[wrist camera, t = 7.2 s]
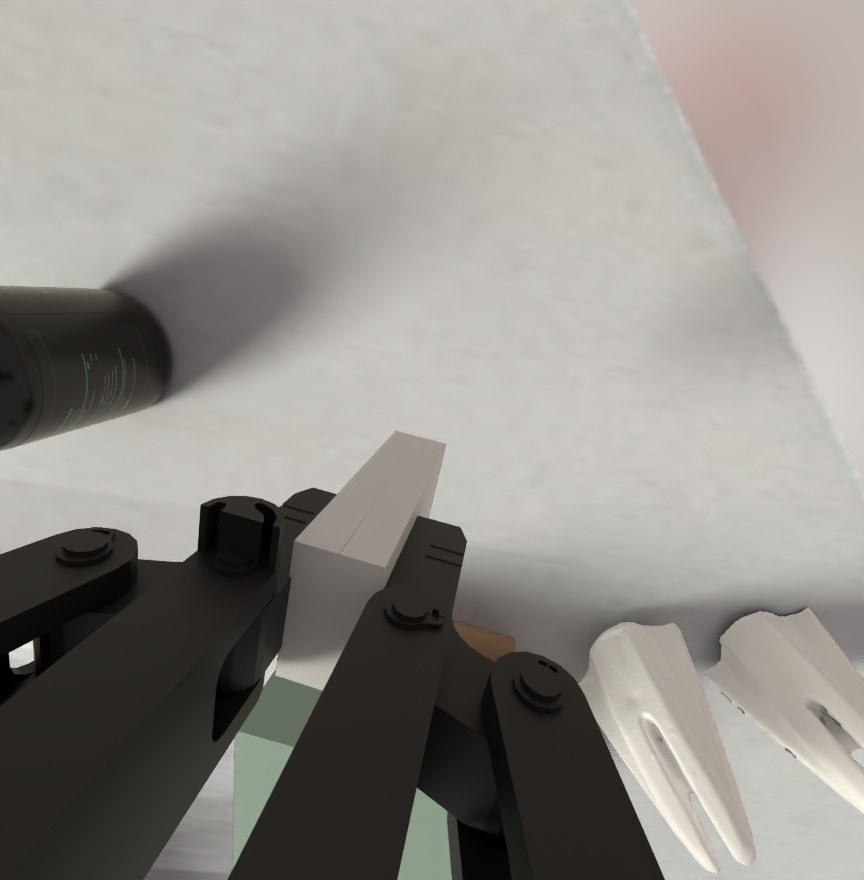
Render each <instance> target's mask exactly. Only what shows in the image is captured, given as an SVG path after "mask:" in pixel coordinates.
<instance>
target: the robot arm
mask: <svg viewBox="0 0 864 880" xmlns="http://www.w3.org/2000/svg"><path fill="white" fill-rule="evenodd" d="M445 448H446V444H444V443H440V442H436V441H433V440H429V439H425V438H421V437H417V436H414V435H410V434H406V433H402V432H398V431H395V432H394V433H393V435H392V436H391V437H390V438H389V439H388V440H387V441H386V442H385V443H384V444H383V445H382V446H381V447H380V449H379V450H378V451H377V452H376V453H375V454H374V455H373V456H372V457H371V458H370V459H369V460H368V462H367V463H366V464H365V465H364V466H363V467H362V468H361V469H360V470H359V471H358V472H357V473H356V474H355V476H354V477H353V478H352V479H351V480H350V481H349V482H348V483H347V484H346V485H345V486H344V487H343V489H342V490H341V491H340V492H339V493H338V494H334V493H330V492H327V491H323V490H319V489H316V488H310V489H307V490H304V491H301V492H298V493H296V494H294V495H293V496H291V497H290V498H289V499H288V500H287V501H286V502H284V503H283V505H282V506H280V507H277V506H276V505H275V504H273V503H271V502H268V501H266V500H263V499H259V498H254V497H248V496H227V497H222V498H216V499H212V500H210V501H208V502H206V503H203V504H201V508H200V522H199V537H198V550H197V551H196V552H195V553H194V554H192V555H191V556H190V557H189V558H187V559H186V560H185V561H184V562H167V561H154V560H141V559H138V546H137V540H135V539H134V538H133V537H132V536H131V535H130V534H128V533H126V532H123V531H120V530H117V529H109V528H102V527H92V528H85V529H76V530H72V531H68V532H64V533H60V534H57V535H54V536H51V537H48V538H45V539H43V540H40V541H37V542H34V543H31V544H29V545H26V546H23V547H20V548H17V549H14V550H12V551H9V552H6V553H3V554H0V880H143V879H144V877H145V876H146V874H147V873H148V871H149V870H150V868H151V867H152V865H153V863H154V862H155V860H156V859H157V857H158V856H159V854H160V853H161V851H162V849H163V848H164V846H165V845H166V843H167V842H168V840H169V839H170V837H171V835H172V834H173V832H174V831H175V829H176V828H177V826H178V825H179V823H180V821H181V820H182V818H183V817H184V815H185V814H186V812H187V811H188V809H189V807H190V806H191V804H192V803H193V801H194V800H195V798H196V797H197V795H198V793H199V792H200V790H201V789H202V787H203V786H204V784H205V783H206V781H207V779H208V778H209V776H210V775H211V773H212V772H213V770H214V769H215V767H216V765H217V764H218V762H219V761H220V759H221V758H222V756H223V755H224V753H225V751H226V750H227V748H228V747H229V745H230V744H231V742H232V741H233V739H234V738H235V736H236V734H237V733H238V731H239V730H240V728H241V727H242V725H243V724H244V722H245V720H246V719H247V717H248V716H249V714H250V713H251V711H252V710H253V708H254V706H255V705H256V703H257V702H258V700H259V697H260V695H261V692H262V689H263V683H264V676H265V671H266V669H267V668H268V666H269V665H270V663H271V662H272V661H273V659H274V658H275V656H276V655H277V653H278V658H277V666H276V673H275V675H276V676H279V677H282V678H285V679H288V680H291V681H294V682H298V683H301V684H304V685H307V686H310V687H313V688H316V689H319V690H322V693H321V695H320V697H319V699H318V701H317V703H316V705H315V707H314V709H313V711H312V713H311V715H310V717H309V719H308V721H307V723H306V725H305V727H304V729H303V731H302V733H301V735H300V737H299V739H298V741H297V743H296V745H295V747H294V749H293V751H292V753H291V755H290V757H289V759H288V761H287V763H286V765H285V767H284V769H283V771H282V773H281V775H280V777H279V779H278V781H277V782H276V784H275V786H274V788H273V790H272V792H271V794H270V796H269V798H268V800H267V802H266V804H265V806H264V808H263V810H262V812H261V814H260V816H259V818H258V820H257V822H256V824H255V826H254V828H253V830H252V832H251V834H250V836H249V838H248V840H247V842H246V844H245V846H244V848H243V850H242V852H241V854H240V856H239V858H238V860H237V862H236V864H235V866H234V868H233V870H232V872H231V874H230V876H229V878H228V880H397V879H398V875H399V870H400V865H401V860H402V856H403V851H404V846H405V841H406V837H407V832H408V827H409V822H410V818H411V813H412V808H413V803H414V799H415V794H416V789H417V788H418V789H419V790H420V791H422V792H423V793H424V794H426V795H427V796H428V797H430V798H431V799H432V800H433V801H435V802H436V803H437V804H439V805H440V806H441V807H443V808H444V809H445V810H446V811H447V827H448V839H449V852H450V864H451V876H452V880H665V879H664V877H663V874H662V872H661V870H660V867H659V865H658V863H657V860H656V858H655V856H654V853H653V851H652V849H651V847H650V844H649V842H648V840H647V837H646V835H645V833H644V830H643V828H642V826H641V823H640V821H639V819H638V817H637V814H636V812H635V810H634V807H633V805H632V803H631V800H630V798H629V796H628V793H627V791H626V789H625V786H624V784H623V782H622V780H621V777H620V775H619V773H618V770H617V768H616V766H615V763H614V761H613V759H612V756H611V754H610V752H609V750H608V747H607V745H606V743H605V740H604V738H603V736H602V733H601V731H600V729H599V726H598V724H597V722H596V719H595V717H594V715H593V713H592V710H591V708H590V706H589V703H588V701H587V699H586V696H585V694H584V693H583V691H582V689H581V688H580V686H579V685H578V683H577V682H576V680H575V679H574V678H573V677H572V676H571V675H570V674H569V673H568V672H567V671H566V670H564V669H563V668H562V667H561V666H560V665H558V664H556V663H554V662H553V661H551V660H549V659H547V658H545V657H544V656H540V655H536V654H533V653H529V652H510V653H508V654H506V655H503V656H501V657H499V658H498V659H497V661H496V662H494V661H492V660H490V659H489V658H487V657H485V656H484V655H482V654H480V653H479V652H477V651H476V650H475V649H473V648H472V647H470V646H469V645H468V644H467V643H466V642H465V641H464V640H463V639H462V638H461V637H460V635H459V634H458V632H457V630H456V629H455V627H454V624H453V620H452V609H453V605H454V600H455V595H456V591H457V586H458V581H459V576H460V572H461V567H462V562H463V558H464V553H465V548H466V543H467V540H466V538H465V536H464V534H463V532H462V530H461V528H460V527H457V526H454V525H450V524H446V523H443V522H439V521H436V520H432V519H429V514H430V510H431V506H432V502H433V498H434V494H435V489H436V485H437V481H438V477H439V473H440V469H441V464H442V460H443V456H444V452H445ZM32 640H33V648H34V661H33V662H31V663H29V664H26V665H23V666H21V667H18V668H10V663H9V652H11V651H13V650H15V649H17V648H19V647H21V646H22V645H24V644H26V643H28V642H30V641H32Z"/></svg>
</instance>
